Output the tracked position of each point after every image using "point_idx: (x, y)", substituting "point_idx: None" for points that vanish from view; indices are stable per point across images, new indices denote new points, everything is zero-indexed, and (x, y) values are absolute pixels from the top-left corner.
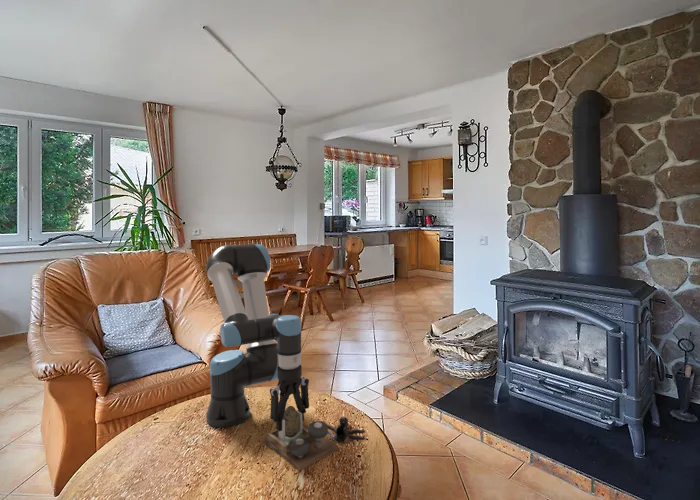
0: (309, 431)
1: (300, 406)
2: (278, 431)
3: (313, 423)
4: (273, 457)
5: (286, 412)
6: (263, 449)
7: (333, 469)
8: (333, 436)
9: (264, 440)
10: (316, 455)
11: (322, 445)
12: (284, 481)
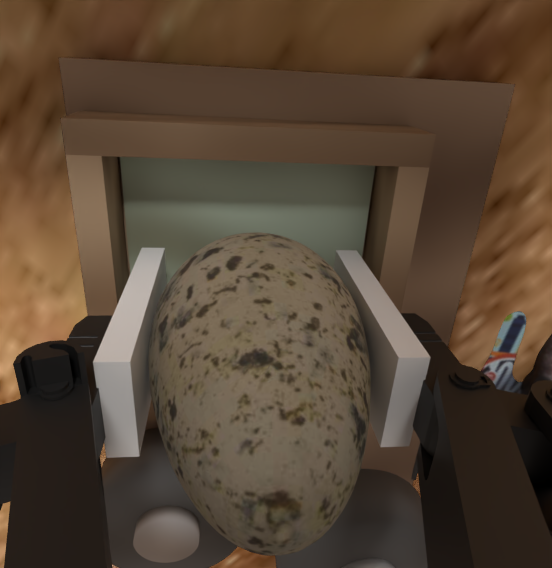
0: (278, 557)
1: (427, 535)
2: (130, 274)
3: (373, 537)
4: (51, 305)
5: (186, 489)
6: (26, 165)
7: (261, 555)
8: (493, 378)
9: (66, 89)
10: None
11: None
12: (8, 503)
